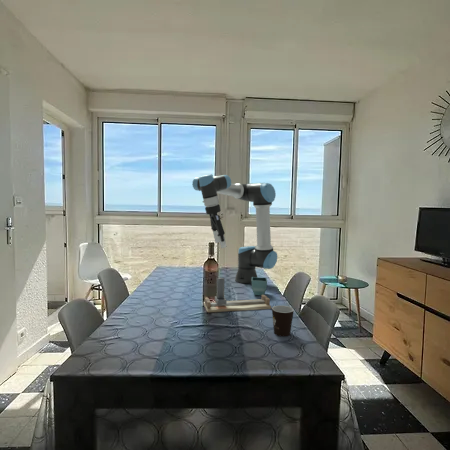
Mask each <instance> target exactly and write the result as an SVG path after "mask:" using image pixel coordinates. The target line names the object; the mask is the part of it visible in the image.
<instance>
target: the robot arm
mask: <svg viewBox="0 0 450 450" xmlns="http://www.w3.org/2000/svg"><path fill="white" fill-rule="evenodd" d="M192 188H193V189H194V190H195V191H199V192H201V196H202V199H203V201H202V203H203V204H204V206H205V208H204V209H205V214H206V215H209V220H210V227H211V230H212V232H213V233H212V234H213V238H214V242H215V244H218V243H219V245H220V248H221V249H224V248H227V242H226V237H225V230H224V227H223V224H222V221H221V217H220V215H219V214H218V213H220V212H221V210H222V209H221V206H220V204H219V203H220V201H219V197H218V194H220V195H223V196H224V195H225V196H229V197H233V198H234V199H235V200H241V201H245V202H249V203H252V205H253V206H254V208H255V221H256V222H255V224H256V246H255V245H250V246H249V245H248V246H247V245H246V246H241V247H239V248H238V251H237V252H238V253H237V254H238V255H237V272H236V275H235V277H234V278H235V279H234V280H235V282H236V283H241V284H252V277H258V274H257V270H256V268H260V269H263V270H264V269H266V270H271V269H273V268H274V267H275V266H276V264H277V261H278V253H277V251H275V250H274V246H273V245H272V244H271V243H272V242H271V211H270V210H271V209H270V207H272V205H273V202H274V201H275V199H276V189H275V187H274V186H273V185H272V183H268V182H256V183H253V182H252V183H232V179H231V177H230V176H229V175H228V174H222V175H215V176H214V175H213V174H212V173H211V174H206V175H201V176H197V177H194V178H193V180H192Z"/></svg>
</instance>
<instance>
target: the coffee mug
mask: <svg viewBox="0 0 450 450" xmlns="http://www.w3.org/2000/svg"><path fill="white" fill-rule="evenodd" d="M271 311H272V313H271V314H272V325H273V334H274V335H275V336H277V337H283V338H284V337H289V336H291V330H292V323H293V317H294V308H293V307H291V306H287V305H275V306H271Z"/></svg>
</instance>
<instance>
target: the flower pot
mask: <svg viewBox="0 0 450 450" xmlns="http://www.w3.org/2000/svg"><path fill="white" fill-rule="evenodd" d="M267 286H268V277H260V276H257V277H252V283H251V290H252V293H253V295H254V296H261V295H265V294H266V291H267V288H268V287H267Z"/></svg>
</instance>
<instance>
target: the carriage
mask: <svg viewBox="0 0 450 450" xmlns="http://www.w3.org/2000/svg"><path fill="white" fill-rule="evenodd" d="M216 280H217V281H216V286H217V287H216V295H215V296H214V302H216V303H217V304H218V305H220V304H226V302H227V301H228V300H227V299H226V297H225V283H226V281H225V277H217V279H216Z"/></svg>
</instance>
